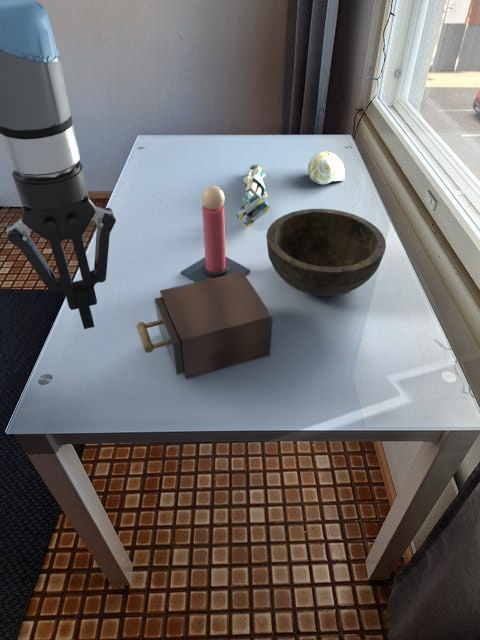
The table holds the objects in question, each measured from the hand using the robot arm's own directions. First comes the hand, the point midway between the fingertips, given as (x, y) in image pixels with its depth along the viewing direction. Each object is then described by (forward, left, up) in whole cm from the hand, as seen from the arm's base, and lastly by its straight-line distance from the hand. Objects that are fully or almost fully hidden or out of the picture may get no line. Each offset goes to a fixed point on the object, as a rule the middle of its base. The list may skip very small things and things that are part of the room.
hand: (88, 322), depth 69 cm
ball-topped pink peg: (-6, +31, -10) cm, 33 cm away
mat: (-5, +31, -11) cm, 34 cm away
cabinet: (+9, +17, -11) cm, 22 cm away
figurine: (-20, +59, -11) cm, 64 cm away
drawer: (+7, +14, -10) cm, 18 cm away
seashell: (-13, +81, -11) cm, 83 cm away
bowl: (+12, +43, -11) cm, 46 cm away
